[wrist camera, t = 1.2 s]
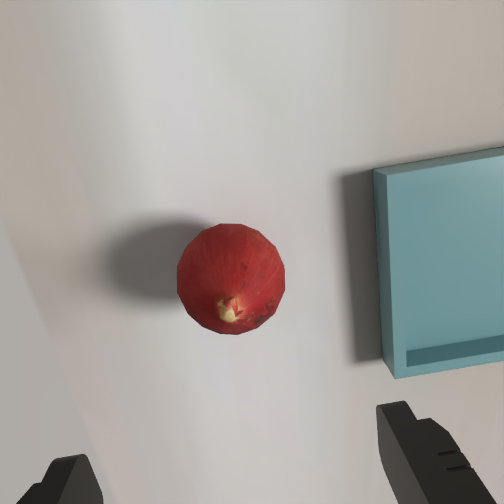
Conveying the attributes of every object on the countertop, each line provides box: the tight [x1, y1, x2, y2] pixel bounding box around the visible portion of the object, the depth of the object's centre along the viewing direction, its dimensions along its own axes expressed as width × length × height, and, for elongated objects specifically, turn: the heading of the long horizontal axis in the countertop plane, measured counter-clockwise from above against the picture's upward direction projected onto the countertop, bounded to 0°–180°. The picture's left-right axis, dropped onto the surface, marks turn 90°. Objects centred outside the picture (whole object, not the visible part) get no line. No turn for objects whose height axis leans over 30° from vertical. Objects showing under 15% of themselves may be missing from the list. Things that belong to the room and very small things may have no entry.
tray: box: [373, 147, 504, 379], centre depth 25 cm, size 14×14×2 cm
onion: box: [177, 224, 285, 335], centre depth 21 cm, size 6×6×8 cm
